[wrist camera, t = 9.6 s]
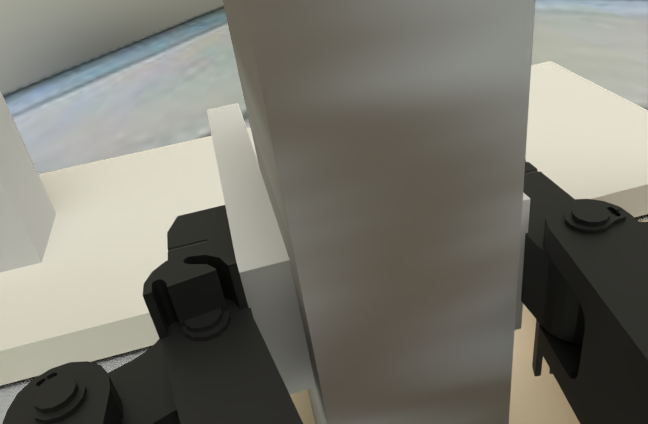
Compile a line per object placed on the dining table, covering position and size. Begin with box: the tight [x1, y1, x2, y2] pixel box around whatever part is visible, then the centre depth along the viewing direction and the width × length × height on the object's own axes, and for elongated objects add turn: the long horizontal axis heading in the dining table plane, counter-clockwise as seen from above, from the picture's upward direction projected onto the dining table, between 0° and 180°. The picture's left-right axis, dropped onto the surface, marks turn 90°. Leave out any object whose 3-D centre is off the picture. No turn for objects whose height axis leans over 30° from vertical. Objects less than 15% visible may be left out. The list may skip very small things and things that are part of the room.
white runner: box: [0, 61, 648, 386], centre depth 24 cm, size 32×14×14 cm, turn 104°
